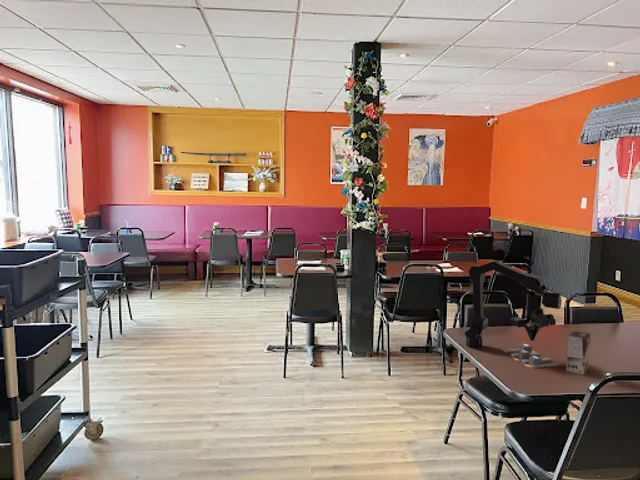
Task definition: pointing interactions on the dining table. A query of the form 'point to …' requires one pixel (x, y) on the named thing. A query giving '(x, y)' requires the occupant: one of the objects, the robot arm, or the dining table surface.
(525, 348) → the tab
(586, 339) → the coffee box
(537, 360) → the tab
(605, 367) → the dining table surface
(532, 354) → the switch board
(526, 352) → the tab
